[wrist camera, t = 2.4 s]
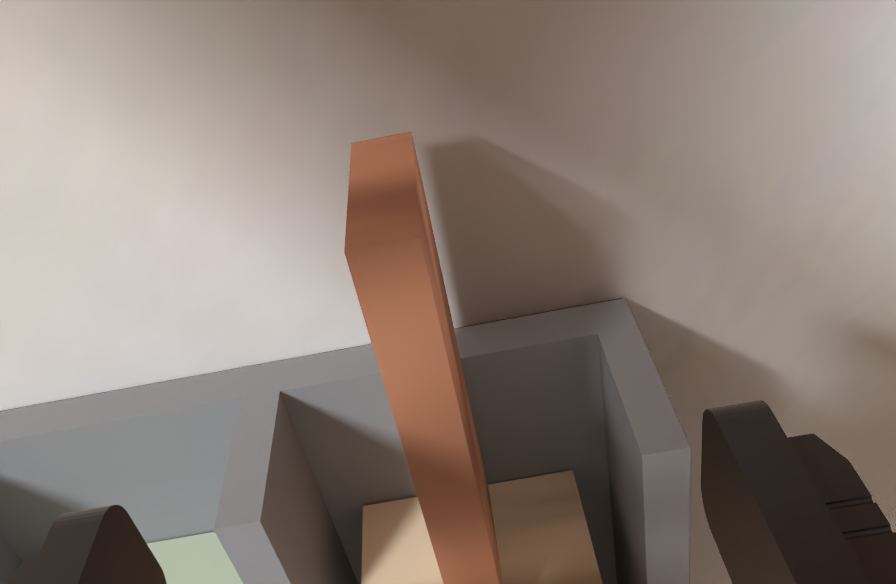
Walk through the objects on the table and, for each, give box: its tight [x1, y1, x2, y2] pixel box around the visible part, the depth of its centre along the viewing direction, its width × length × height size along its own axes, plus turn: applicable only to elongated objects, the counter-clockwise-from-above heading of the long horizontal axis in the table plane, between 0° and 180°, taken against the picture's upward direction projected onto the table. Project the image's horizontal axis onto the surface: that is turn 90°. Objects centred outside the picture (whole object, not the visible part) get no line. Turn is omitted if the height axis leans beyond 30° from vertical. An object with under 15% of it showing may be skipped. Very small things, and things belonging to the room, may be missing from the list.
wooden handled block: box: [345, 132, 603, 584], centre depth 19 cm, size 21×6×6 cm, turn 10°
